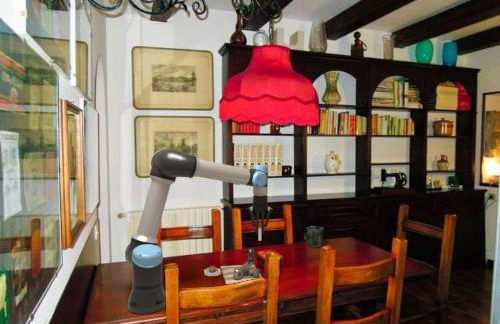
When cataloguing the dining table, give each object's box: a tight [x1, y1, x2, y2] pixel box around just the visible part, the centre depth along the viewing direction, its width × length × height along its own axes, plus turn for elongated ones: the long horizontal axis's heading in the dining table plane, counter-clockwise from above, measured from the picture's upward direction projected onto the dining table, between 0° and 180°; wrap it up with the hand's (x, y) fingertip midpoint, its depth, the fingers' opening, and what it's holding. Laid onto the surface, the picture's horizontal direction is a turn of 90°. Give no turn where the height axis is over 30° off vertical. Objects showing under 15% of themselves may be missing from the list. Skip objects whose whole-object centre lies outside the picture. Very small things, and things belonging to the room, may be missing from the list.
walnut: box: [248, 268, 254, 276], centre depth 170 cm, size 4×4×4 cm
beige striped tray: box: [219, 264, 263, 285], centre depth 174 cm, size 23×18×5 cm
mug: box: [303, 225, 325, 248], centre depth 228 cm, size 11×15×12 cm
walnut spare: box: [208, 265, 217, 273], centre depth 175 cm, size 4×4×4 cm
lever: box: [233, 248, 255, 276], centre depth 173 cm, size 20×5×10 cm, turn 156°
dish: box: [203, 267, 222, 277], centre depth 175 cm, size 8×8×2 cm
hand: (259, 239), depth 180 cm, fingers closed
